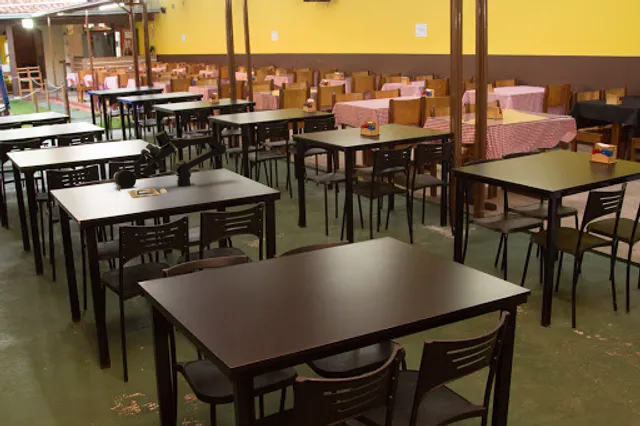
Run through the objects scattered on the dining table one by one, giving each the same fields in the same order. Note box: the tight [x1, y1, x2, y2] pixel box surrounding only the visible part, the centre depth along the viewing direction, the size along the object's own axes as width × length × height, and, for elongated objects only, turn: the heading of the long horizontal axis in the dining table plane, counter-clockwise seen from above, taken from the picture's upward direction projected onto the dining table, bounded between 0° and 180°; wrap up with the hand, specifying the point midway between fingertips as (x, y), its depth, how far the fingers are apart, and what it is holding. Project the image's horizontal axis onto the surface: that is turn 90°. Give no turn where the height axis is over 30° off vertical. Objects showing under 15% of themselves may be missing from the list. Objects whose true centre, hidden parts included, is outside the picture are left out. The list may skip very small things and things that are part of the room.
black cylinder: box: [113, 169, 137, 189], centre depth 399 cm, size 10×34×10 cm, turn 23°
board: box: [127, 187, 161, 199], centre depth 367 cm, size 14×18×4 cm
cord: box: [158, 187, 169, 195], centre depth 369 cm, size 3×7×3 cm, turn 23°
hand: (139, 167), depth 369 cm, fingers open, 9 cm apart
